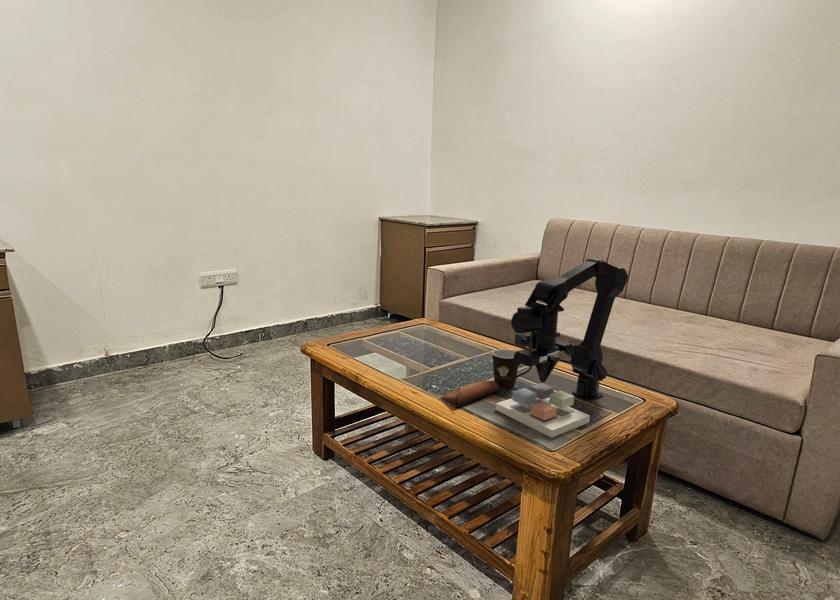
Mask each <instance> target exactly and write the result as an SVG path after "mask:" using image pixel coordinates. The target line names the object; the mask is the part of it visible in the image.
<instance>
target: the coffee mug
mask: <svg viewBox="0 0 840 600" xmlns="http://www.w3.org/2000/svg"><path fill="white" fill-rule="evenodd" d="M516 351H517V350H514V349H513V350H512V349H509V348H507V349H503V348H502V349H500V348H499V349H495V350H493V351H492V353H491V354H492V357H491V358H492V369H493V381H494V382H496V383H497V385H498V388H503V389H504V388H505V389H509V388H514V387H515V385H516V380H517V379H518V378H519V377H521V376H523V375H526V374H527V373H529V372H530V371H531V369H532V367H533V366H529V369H527V370H526V371H524V372H522V373H520V374H518V372H519V371H518V370H519V369H518V368H519V367H520V365H521V364H520V363H518V362H515V361H514V353H515V352H516Z"/></svg>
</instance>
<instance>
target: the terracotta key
mask: <svg viewBox="0 0 840 600" xmlns="http://www.w3.org/2000/svg"><path fill="white" fill-rule="evenodd" d="M531 414H532V415H534V416H536V417H538V418H540V419H542V420H546V419H549V418H552V417H555V416H556V407H555V406H552V405H550V404H548V403H546V402H540V403H537V404H534V405H532V408H531Z"/></svg>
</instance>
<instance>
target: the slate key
mask: <svg viewBox="0 0 840 600" xmlns="http://www.w3.org/2000/svg"><path fill="white" fill-rule="evenodd" d="M511 395H512V396H511V397H512V400H513V401H515V402H517V403H519V404H521V405H524V406H525V405H528V404H531V403H534V402H536V393H534V392H532V391H530V389H528V388H525V387H523V388H521V389H517V390H514V391H512V394H511Z"/></svg>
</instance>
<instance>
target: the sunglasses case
mask: <svg viewBox="0 0 840 600" xmlns="http://www.w3.org/2000/svg"><path fill="white" fill-rule="evenodd" d="M498 392H499V387H498V385H497V383H496V382H494V380H482V381H475V382H472V383H468V384H465V385H464V384H463V385H462V386H459V387H458V388H457V389H454V390H452V391H450V392H448V393H446V394H444V395H442V396H440V397H439V398H441V399H442V400H444V401H445V402H447V403H449V404H451V405H453V406H456V407H457V408H459V407H462V406H464V405H466V404H469V403H470V402H472V401H474V400H479V399H480V398H482V397H486V396H488V395H490V394H493V393H498ZM445 402H444V403H445ZM447 403H446V404H447ZM449 404H448V405H449ZM451 405H450V406H451ZM453 406H452V407H453Z"/></svg>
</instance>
